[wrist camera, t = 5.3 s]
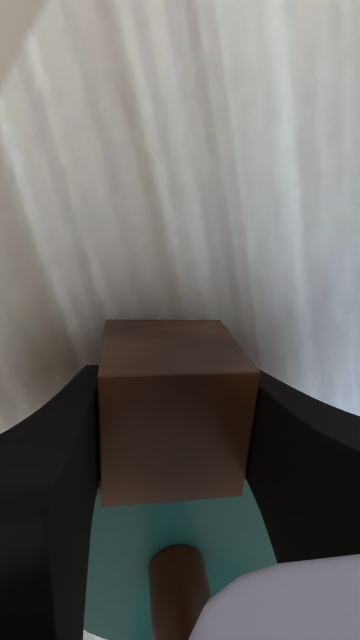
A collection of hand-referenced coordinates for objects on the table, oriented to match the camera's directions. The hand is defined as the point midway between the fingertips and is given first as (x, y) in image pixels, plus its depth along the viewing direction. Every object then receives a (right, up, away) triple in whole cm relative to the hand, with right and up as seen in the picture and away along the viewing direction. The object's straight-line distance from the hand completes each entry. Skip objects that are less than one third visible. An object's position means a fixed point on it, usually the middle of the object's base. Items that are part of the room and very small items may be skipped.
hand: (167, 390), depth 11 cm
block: (0, 0, +1) cm, 1 cm away
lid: (0, -8, +4) cm, 9 cm away
